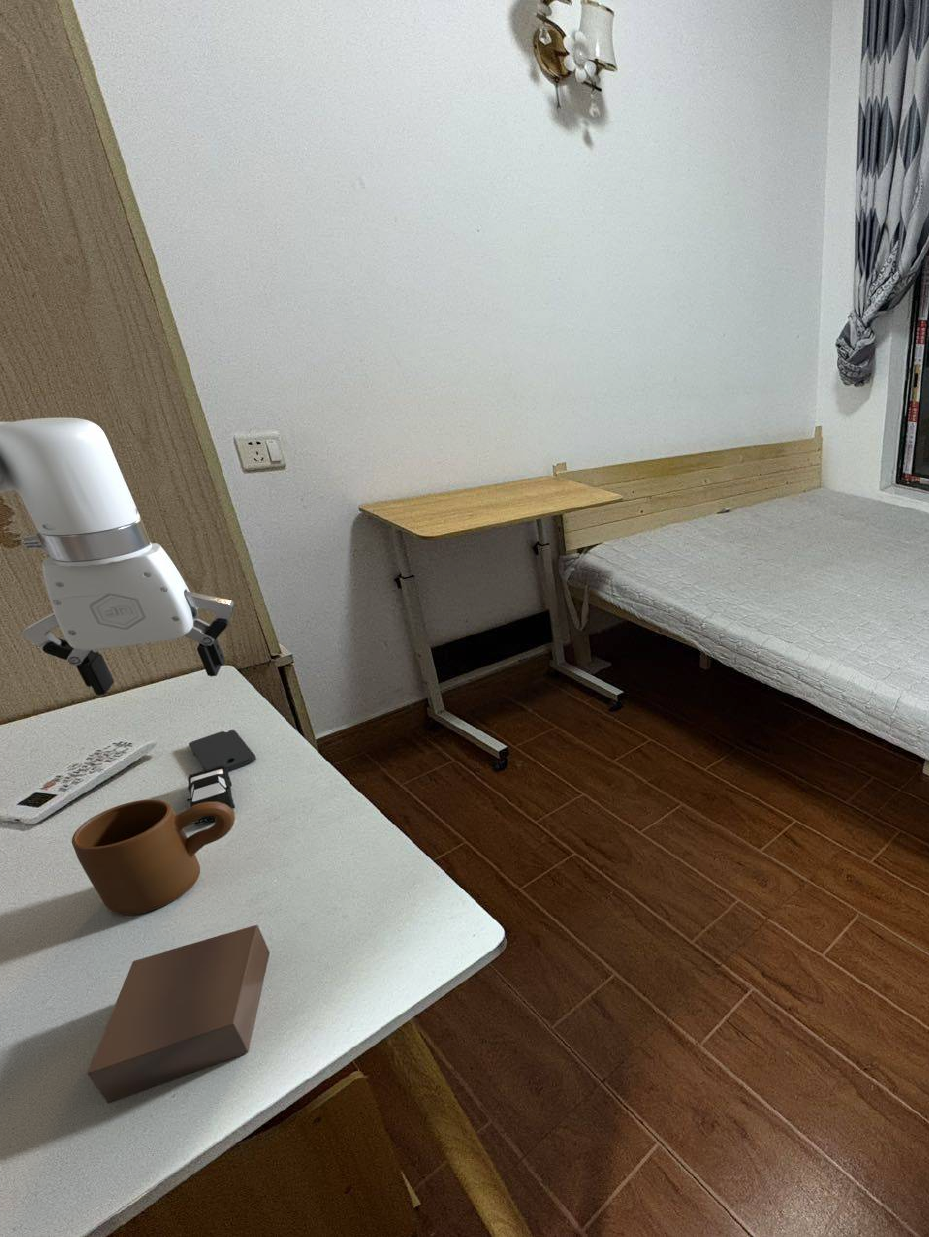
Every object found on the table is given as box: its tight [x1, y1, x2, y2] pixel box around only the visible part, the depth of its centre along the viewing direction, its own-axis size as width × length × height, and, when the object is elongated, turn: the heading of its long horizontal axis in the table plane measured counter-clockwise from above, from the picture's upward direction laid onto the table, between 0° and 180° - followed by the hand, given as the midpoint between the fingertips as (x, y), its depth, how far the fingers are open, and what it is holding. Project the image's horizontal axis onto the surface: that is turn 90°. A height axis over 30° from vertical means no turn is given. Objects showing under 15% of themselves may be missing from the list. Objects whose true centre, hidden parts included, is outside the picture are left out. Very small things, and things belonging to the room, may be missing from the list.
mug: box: [71, 798, 236, 916], centre depth 71 cm, size 12×8×9 cm, turn 124°
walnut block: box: [86, 924, 270, 1104], centre depth 59 cm, size 9×11×4 cm
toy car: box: [186, 765, 236, 826], centre depth 84 cm, size 10×4×3 cm, turn 41°
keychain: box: [188, 729, 257, 772], centre depth 92 cm, size 5×1×10 cm
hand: (162, 679), depth 78 cm, fingers open, 9 cm apart
